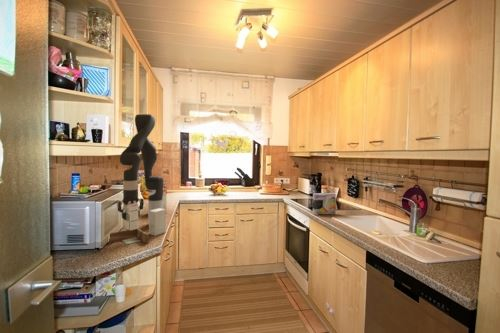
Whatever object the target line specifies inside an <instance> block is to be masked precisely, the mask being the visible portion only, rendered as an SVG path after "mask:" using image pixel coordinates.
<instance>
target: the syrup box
mask: <svg viewBox="0 0 500 333" xmlns="http://www.w3.org/2000/svg"><path fill="white" fill-rule="evenodd" d="M122 206H124V207H126V205H125V204H124V203H122ZM138 206H139V203H138V202H137V203H131V204H128V205H127V210H126V211H125V213H126V219H125V220H124V219H123V230H134V229H139V217H138Z"/></svg>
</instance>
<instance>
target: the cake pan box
mask: <svg viewBox="0 0 500 333" xmlns="http://www.w3.org/2000/svg"><path fill="white" fill-rule="evenodd" d="M336 201H337V194H336V193H334V192H319V193H316V192H315V193H312V214H313V215H314V216H317V215H318V214H331V215H336V208H337V207H336ZM318 216H319V215H318Z"/></svg>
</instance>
